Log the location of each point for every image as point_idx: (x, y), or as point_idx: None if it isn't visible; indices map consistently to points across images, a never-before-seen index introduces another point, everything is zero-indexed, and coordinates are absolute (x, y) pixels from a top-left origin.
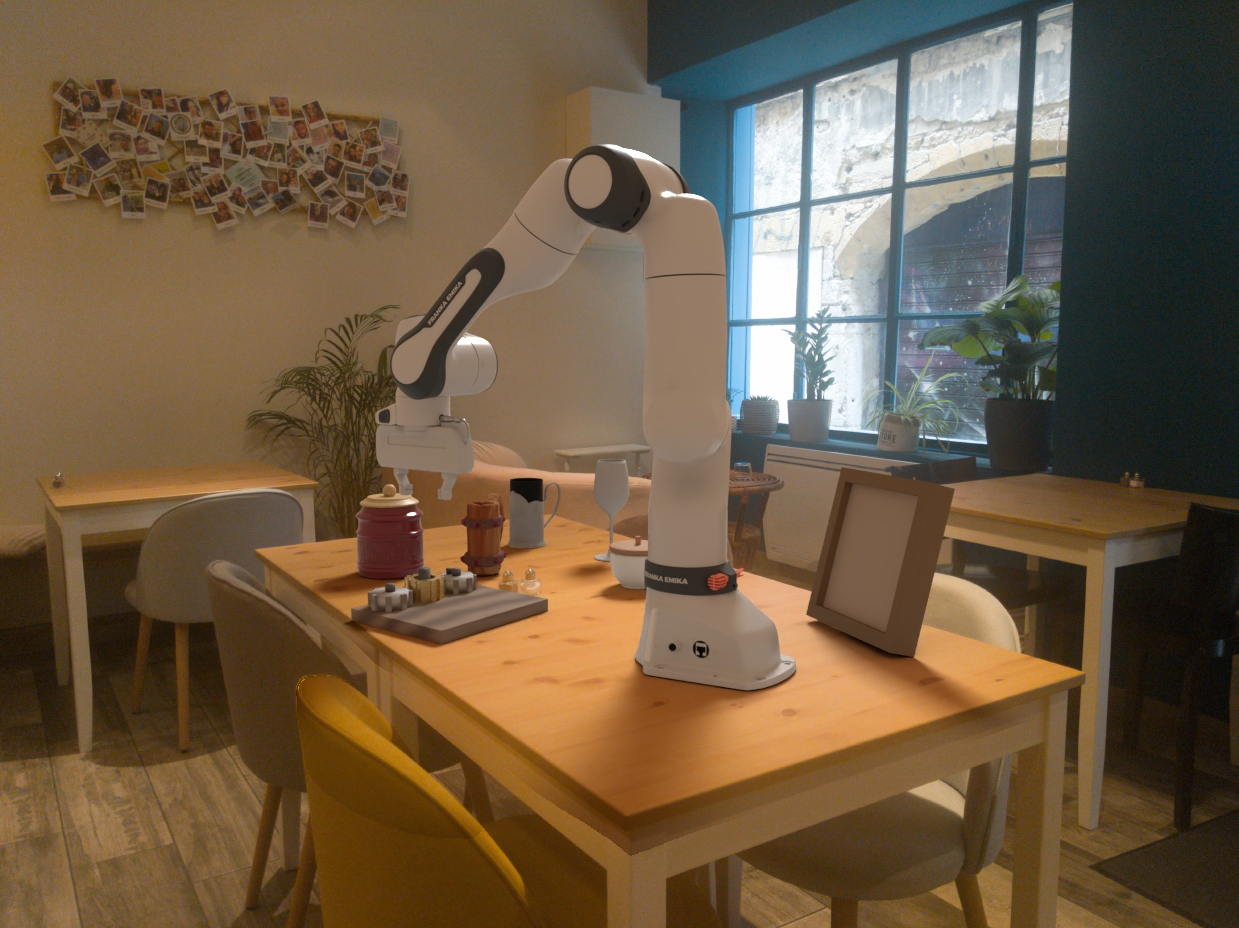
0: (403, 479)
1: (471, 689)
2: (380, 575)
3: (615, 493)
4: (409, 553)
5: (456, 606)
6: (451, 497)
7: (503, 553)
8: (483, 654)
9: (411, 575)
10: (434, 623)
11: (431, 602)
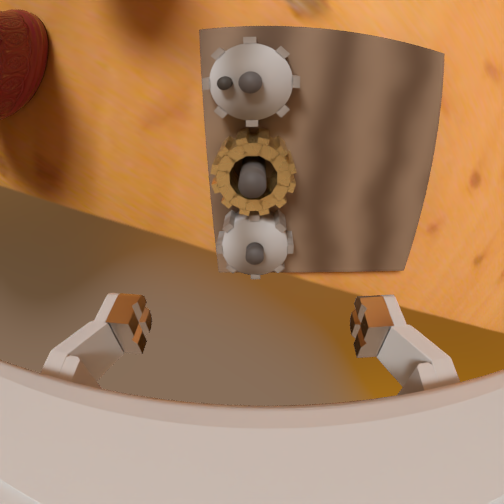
0: (100, 354)
1: (467, 313)
2: (30, 97)
3: None
4: (21, 52)
5: (349, 175)
6: (394, 297)
7: None
8: (451, 258)
9: (218, 184)
10: (378, 256)
11: None
